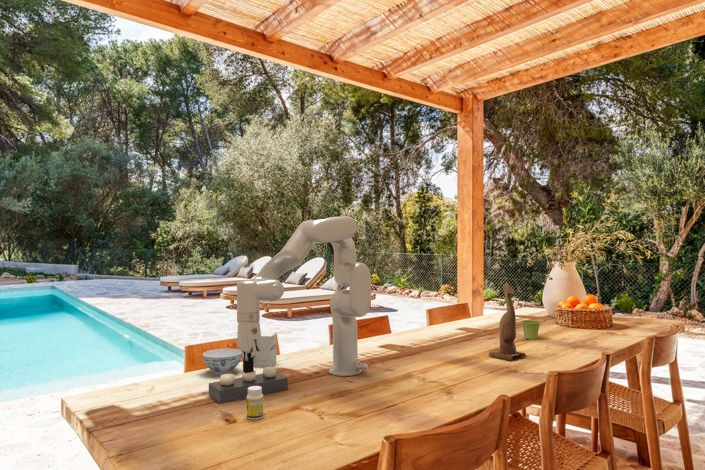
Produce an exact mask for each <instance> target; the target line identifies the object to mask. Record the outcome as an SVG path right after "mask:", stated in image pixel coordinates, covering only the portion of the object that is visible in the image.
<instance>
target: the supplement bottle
mask: <svg viewBox="0 0 705 470" xmlns="http://www.w3.org/2000/svg"><path fill="white" fill-rule="evenodd" d="M246 418H247V419H248V420H250V421H251V420H252V421H253V420H254V421H255V420H261V419H262V418H264V394H262V387H260V386H251V387H249V388H248V395H247V398H246Z"/></svg>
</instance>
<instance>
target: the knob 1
mask: <svg viewBox="0 0 705 470" xmlns="http://www.w3.org/2000/svg"><path fill="white" fill-rule="evenodd" d="M219 376H220V380H219V381H220V384H221V385H224V387H225V386H230V385H231V384H233V383H234V379H235V374H233V373H230V374H223V375H219Z"/></svg>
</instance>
